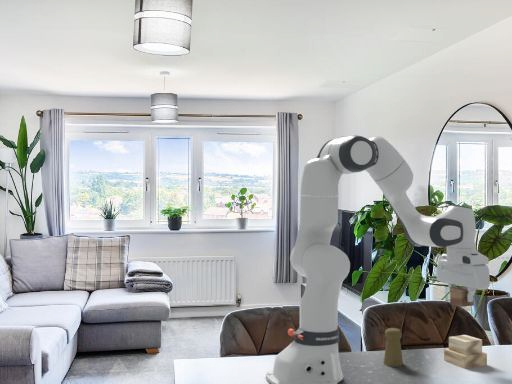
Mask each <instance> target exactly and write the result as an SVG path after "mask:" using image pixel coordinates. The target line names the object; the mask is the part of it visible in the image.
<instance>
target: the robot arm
mask: <svg viewBox="0 0 512 384" xmlns="http://www.w3.org/2000/svg"><path fill="white" fill-rule="evenodd" d="M363 171H365V172H367V173H368V174H369V176H370V177H371V178H372V180H373V181H374V182H375V184H376V185H377V186H378V188H379V189H380V190H381V192H382V194H383V196H384V199H385V200H386V202H387V203H388V205H389V206H390V208H391V210H392V211H393V212H394V214H395V216H396V218H398V220H399V221H400V223H401V225H402V228H403V230H404V231H403V232H404V235H405V237H406V239H407V241H408V242H410V243H411V244H412V245H414V246H416V247H432V248H446V253H442V254H440V255H439V258H438V262H437V266H436V267H437V268H436V280H437V281H438V282H440V283H444V284H447V287H448V290H450V288H457V286H459V287H464V288H467V291H469V292H468V295H467V296H465V298H466V299H465V300H466V301H468V302H472V301H473V296H474V297H475V294H476V291H478V290H479V291H485V290H487V289H489V287H490V282H491V281H490V278H491V277H490V269H489V267H488V265H489V262H490V261H489V260H490V259H489V257H487V256H486V255H484V254H482V253H480V252H479V251H478V250H477V245H476V242H475V238H476V233H477V231H476V227H477V226H476V218H475V213H474V211H473V209H472V208H470V207H468V206H464V205H455V204H454V205H448V206H447V208H446V209H445V210H444V211H443V212H440V213H439V214H437V215H435V216H430V215H429V216H428V215H425V214H422V213H420V212H419V211H418V210H417V209H416V207H415V206H414V204H413V202H412V201H411V200H410V198H409V196H408V194H407V191H408V190H409V189H410V187H412V184H413V181H414V173H413V171H412V169H411V166H410V165H409V163H408V162H407V161H406V160H405V158H404V157H403V156H402V155H401V153H400V152H399V151H398V149H396V147H394V146H393V144H391V143H390V142H389V141H388V140H386V139H385V138H384V137H382V136H373V137H370V138H366V137H364V136H362V135H356V134H355V135H350V136H349V135H348V136H340V137H337V138H334V139H330V140H328V141H327V142H325V143H324V144H323V145H322V146H321V148H320V150H319V152H318V154H317V156H316V158H315V157H314V158H313V159H310V160H308V161H307V162H306V163H305V165H304V166H303V171H302V176H301V185H300V205H299V206H300V208H299V209H300V212H299V213H300V214H299V224H298V231H297V236H296V240H295V244H294V247H293V248H292V249H291V252H290V256H289V261H290V265H291V267H292V268H293V270H295V271H294V272H297V274H298V275H299V276H301V277H304V278H306V282H305V283H306V284H305V288H304V292H303V295H302V297H301V298H300V300H299V326H298V328H297V329H296V330H295V329H293V328H289V329H287V334H288V335H289V336H290V337H292V338H293V341H292V342H290V344H289V345H288V346H286V347H285V348H283V350H281V351H280V352H279V353H278V354H277V355H276V356H275V359H274V362H273V363H274V364H273V369H272V370H269V371H266V373H265V379H266V380H267V382H268V383H270V384H338V383H340V382H341V381H342V380H343V379H344V374H343V372H342V367H341V362H340V355H339V345H340V329H339V328H338V315H339V314H338V311H339V308H338V306H339V305H338V304H339V298H340V294H341V293H340V292H341V290H342V289H341V288H342V286H343V282H344V281H345V279H346V278H347V277H348V275H349V273H350V269H351V262H350V259H349V257H348V255H347V254H346V253H345V252H344V251H342V250H341V249H340V248H339V247H337V246H334V245H333V244H331V239H332V236H333V232H334V230H335V228H336V227H337V225H338V223H339V222H338V221H339V183H340V180H341V177H342V175H343V174H344V175H349V174H354V173H361V172H363Z"/></svg>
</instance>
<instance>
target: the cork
mask: <svg viewBox="0 0 512 384" xmlns="http://www.w3.org/2000/svg"><path fill="white" fill-rule="evenodd" d="M384 337H385V338H386V342H385V348H384V349H385V350H384V356H383V357H384V358H383V365H384V366H387V367H391V368H392V367H393V368H394V367H395V368H396V367H402V365H403V366H404V359H403V352H402V345H401V340H402V337H403V333H402V331H401V329H399V328H396V327H389V328H387V329H385V331H384Z"/></svg>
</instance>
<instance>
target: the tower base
mask: <svg viewBox="0 0 512 384" xmlns="http://www.w3.org/2000/svg"><path fill="white" fill-rule="evenodd" d="M443 360H444V361H445V362H448V363H450V364H453V365H455V366H458V367H459V368H462V369H470V368H477V367H482V366H487V365H488V353H487V352H484V351H482V353H475V354H469V355H464V354H461V353H458V352H455V351H452V350H449V347H448V348H444V349H443Z"/></svg>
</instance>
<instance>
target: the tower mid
mask: <svg viewBox="0 0 512 384" xmlns="http://www.w3.org/2000/svg"><path fill="white" fill-rule="evenodd" d="M448 348H449V350H452V351H455V352H458V353H461V354H464V355H469V354H475V353H482V352H483V339H480V338H478V337H475V336H472V335H471V336H470V335H467V334H461V335H454V336H453V335H452V336H448Z"/></svg>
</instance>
